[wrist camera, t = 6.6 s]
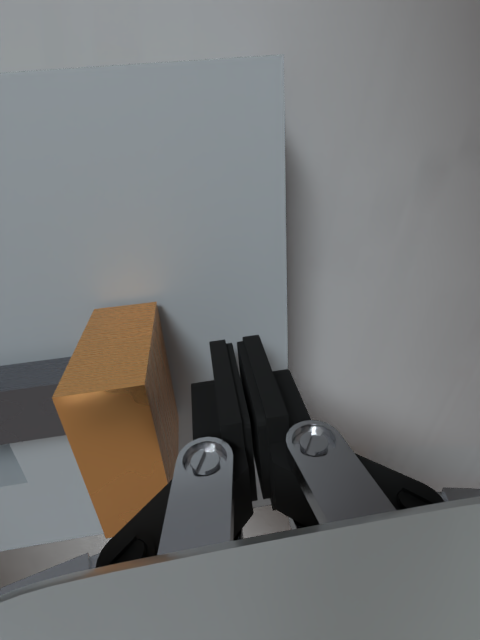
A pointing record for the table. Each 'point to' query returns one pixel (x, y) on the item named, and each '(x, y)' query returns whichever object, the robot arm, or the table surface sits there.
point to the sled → (103, 409)
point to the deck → (135, 237)
